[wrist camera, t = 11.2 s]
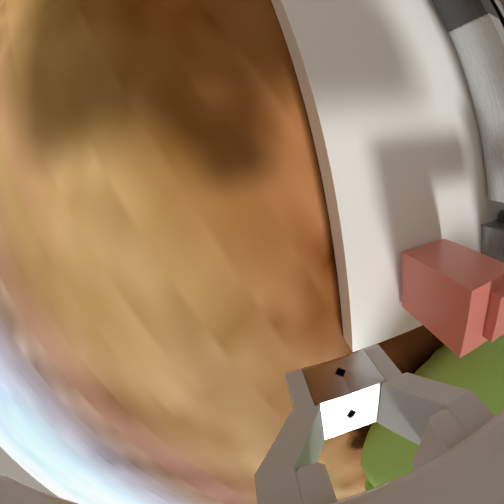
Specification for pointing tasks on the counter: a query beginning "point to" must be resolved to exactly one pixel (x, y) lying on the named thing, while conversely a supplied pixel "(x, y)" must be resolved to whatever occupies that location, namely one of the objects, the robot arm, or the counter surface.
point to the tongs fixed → (483, 94)
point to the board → (387, 145)
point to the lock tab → (454, 293)
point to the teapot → (449, 372)
